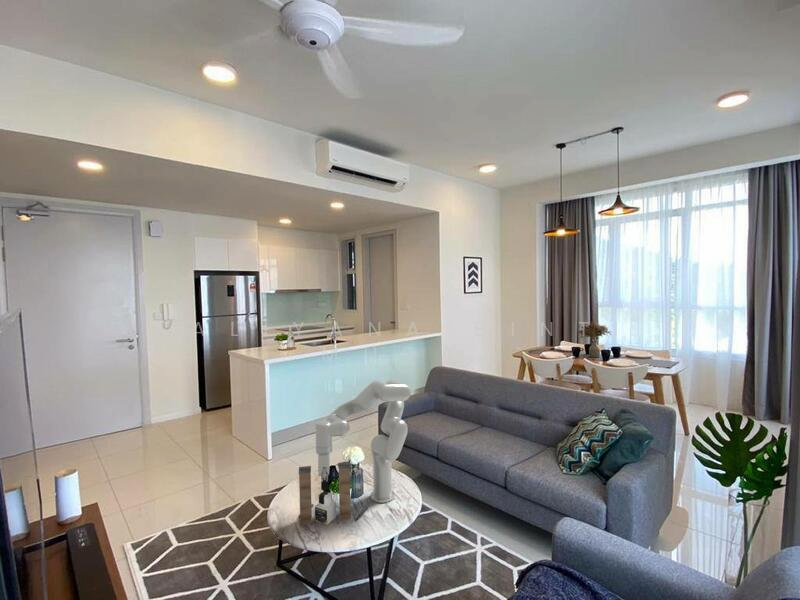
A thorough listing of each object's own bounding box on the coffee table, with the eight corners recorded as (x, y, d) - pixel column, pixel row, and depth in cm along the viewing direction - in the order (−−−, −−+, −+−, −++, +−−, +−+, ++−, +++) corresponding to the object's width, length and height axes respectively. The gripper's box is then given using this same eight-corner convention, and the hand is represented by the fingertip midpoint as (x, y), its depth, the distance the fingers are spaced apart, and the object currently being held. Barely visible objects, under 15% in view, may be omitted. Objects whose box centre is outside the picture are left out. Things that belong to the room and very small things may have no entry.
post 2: (339, 513, 183) (338, 462, 183) (350, 512, 184) (349, 461, 184) (339, 520, 178) (338, 468, 177) (351, 518, 179) (350, 466, 178)
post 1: (300, 518, 180) (299, 467, 179) (312, 517, 181) (310, 465, 180) (299, 525, 174) (298, 472, 174) (312, 524, 176) (310, 471, 175)
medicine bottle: (314, 521, 178) (314, 495, 178) (324, 513, 184) (324, 488, 184) (327, 525, 175) (326, 499, 174) (336, 516, 181) (336, 491, 181)
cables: (306, 505, 191) (306, 503, 191) (368, 507, 188) (368, 505, 188) (298, 518, 180) (298, 515, 180) (364, 520, 177) (364, 518, 177)
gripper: (316, 441, 186) (316, 476, 187) (315, 456, 169) (316, 495, 170) (331, 440, 188) (332, 474, 188) (332, 455, 171) (333, 492, 171)
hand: (324, 484), depth 179 cm, fingers open, 9 cm apart
